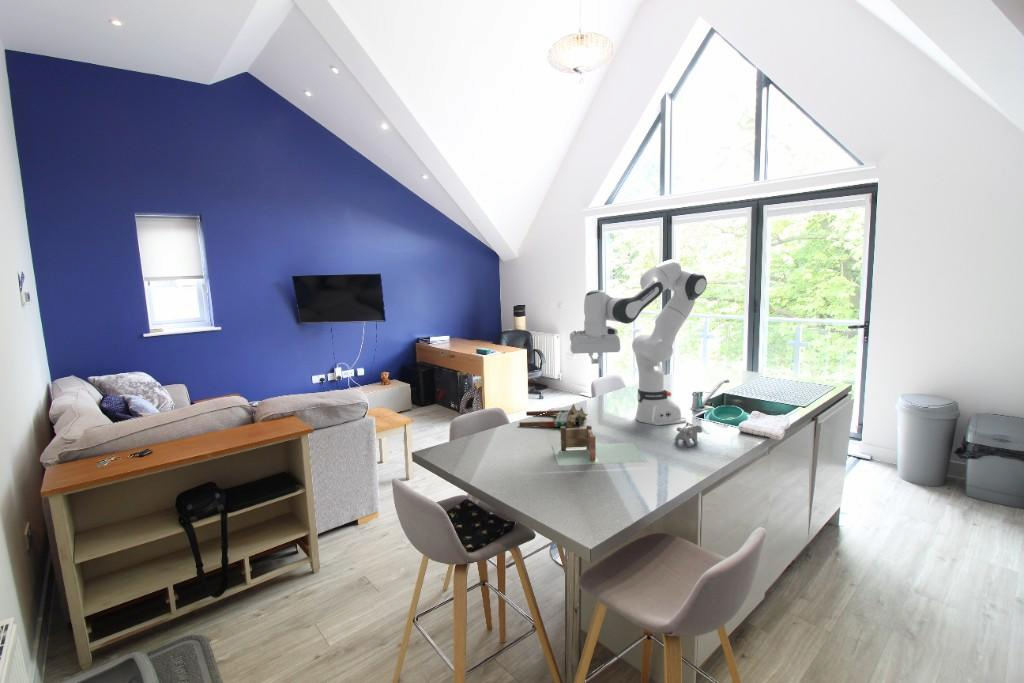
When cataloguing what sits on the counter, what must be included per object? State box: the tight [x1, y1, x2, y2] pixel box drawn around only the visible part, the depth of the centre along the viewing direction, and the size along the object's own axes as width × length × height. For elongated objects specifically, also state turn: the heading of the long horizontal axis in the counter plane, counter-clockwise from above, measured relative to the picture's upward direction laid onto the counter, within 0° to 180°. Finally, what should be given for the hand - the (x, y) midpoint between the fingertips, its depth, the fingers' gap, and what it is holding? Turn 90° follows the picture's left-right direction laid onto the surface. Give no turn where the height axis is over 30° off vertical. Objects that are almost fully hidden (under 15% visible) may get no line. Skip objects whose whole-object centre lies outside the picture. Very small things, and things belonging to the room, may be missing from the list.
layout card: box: [554, 442, 648, 467], centre depth 183 cm, size 32×20×1 cm, turn 92°
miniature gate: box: [518, 403, 588, 429], centre depth 226 cm, size 27×6×30 cm
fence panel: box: [588, 429, 597, 460], centre depth 180 cm, size 11×2×9 cm, turn 177°
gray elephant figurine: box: [674, 421, 703, 448], centre depth 192 cm, size 9×12×8 cm
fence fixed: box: [560, 425, 593, 451], centre depth 187 cm, size 12×2×9 cm, turn 92°
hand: (595, 363), depth 200 cm, fingers closed
